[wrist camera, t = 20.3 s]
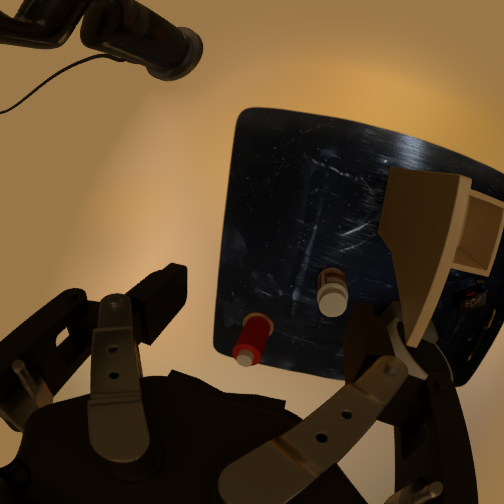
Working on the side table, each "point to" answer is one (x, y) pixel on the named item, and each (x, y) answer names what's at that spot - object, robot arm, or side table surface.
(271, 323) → the coaster
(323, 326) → the side table surface
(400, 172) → the box
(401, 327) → the alarm clock
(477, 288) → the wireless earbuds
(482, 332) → the fountain pen
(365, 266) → the side table surface
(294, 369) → the side table surface
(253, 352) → the sauce bottle
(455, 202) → the breadbox lid
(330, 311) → the pill bottle
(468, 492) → the robot arm
